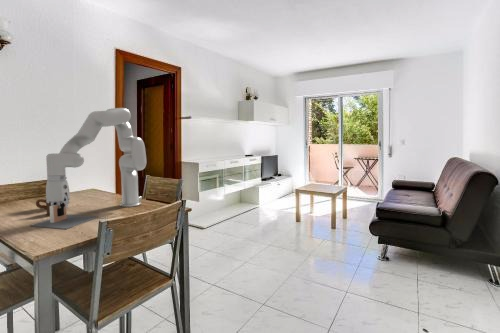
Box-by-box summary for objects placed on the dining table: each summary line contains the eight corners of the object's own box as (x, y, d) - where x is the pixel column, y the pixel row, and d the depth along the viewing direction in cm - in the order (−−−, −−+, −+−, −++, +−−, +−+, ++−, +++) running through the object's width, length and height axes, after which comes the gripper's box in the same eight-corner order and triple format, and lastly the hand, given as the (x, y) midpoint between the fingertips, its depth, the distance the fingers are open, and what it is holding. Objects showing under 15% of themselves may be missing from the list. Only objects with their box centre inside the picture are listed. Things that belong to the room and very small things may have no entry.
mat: (66, 215, 152) (66, 214, 152) (98, 217, 148) (98, 216, 148) (30, 226, 133) (30, 225, 133) (66, 229, 129) (66, 228, 129)
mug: (37, 218, 146) (35, 200, 146) (36, 215, 152) (35, 197, 151) (64, 214, 154) (63, 197, 153) (62, 211, 160) (61, 195, 159)
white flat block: (62, 218, 145) (61, 203, 144) (66, 218, 144) (65, 203, 143) (50, 222, 138) (49, 206, 137) (54, 222, 137) (53, 206, 137)
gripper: (76, 178, 141) (78, 214, 143) (49, 177, 144) (51, 212, 146) (63, 180, 134) (65, 218, 135) (36, 178, 137) (37, 216, 139)
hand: (58, 215), depth 141 cm, fingers closed on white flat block, 2 cm apart
